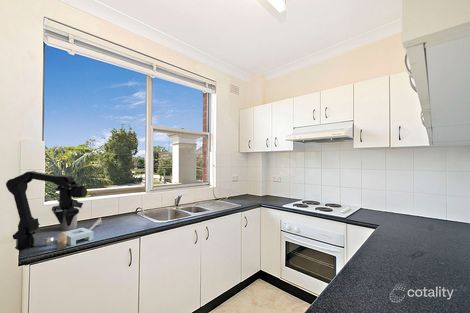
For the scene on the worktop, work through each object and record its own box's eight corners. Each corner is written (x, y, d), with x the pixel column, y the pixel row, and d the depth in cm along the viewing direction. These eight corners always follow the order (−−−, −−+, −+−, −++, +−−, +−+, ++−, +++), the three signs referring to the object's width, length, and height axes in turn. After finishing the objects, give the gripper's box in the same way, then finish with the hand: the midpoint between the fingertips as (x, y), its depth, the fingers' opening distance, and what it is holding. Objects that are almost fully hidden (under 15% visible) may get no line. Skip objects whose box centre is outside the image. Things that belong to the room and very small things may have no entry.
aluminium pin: (46, 246, 123) (46, 239, 123) (43, 245, 125) (43, 238, 125) (55, 244, 126) (55, 237, 126) (52, 243, 128) (52, 236, 128)
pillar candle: (57, 229, 153) (57, 208, 153) (72, 225, 161) (72, 205, 161) (64, 231, 148) (65, 209, 148) (80, 227, 157) (80, 207, 157)
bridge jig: (70, 245, 124) (71, 237, 124) (60, 240, 132) (60, 232, 132) (93, 239, 135) (93, 231, 135) (82, 235, 142) (82, 227, 142)
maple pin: (59, 250, 119) (59, 235, 119) (55, 248, 121) (56, 234, 121) (67, 247, 122) (67, 233, 122) (64, 246, 124) (64, 232, 124)
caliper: (99, 225, 164) (100, 216, 164) (101, 225, 164) (101, 216, 164) (84, 234, 144) (85, 225, 144) (86, 234, 144) (86, 225, 144)
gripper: (89, 197, 127) (88, 223, 127) (73, 194, 136) (72, 219, 136) (67, 200, 117) (66, 229, 117) (51, 196, 126) (51, 223, 126)
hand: (64, 224), depth 124 cm, fingers open, 9 cm apart
